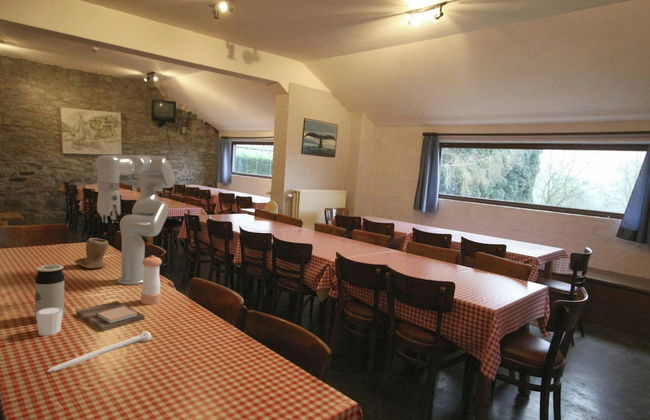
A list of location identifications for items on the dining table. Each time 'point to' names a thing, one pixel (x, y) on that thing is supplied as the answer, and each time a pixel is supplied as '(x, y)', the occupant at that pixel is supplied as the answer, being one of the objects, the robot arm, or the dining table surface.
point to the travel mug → (49, 287)
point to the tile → (116, 314)
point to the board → (101, 324)
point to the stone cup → (94, 253)
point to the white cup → (49, 320)
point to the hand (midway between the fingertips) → (107, 232)
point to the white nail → (103, 351)
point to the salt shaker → (151, 281)
